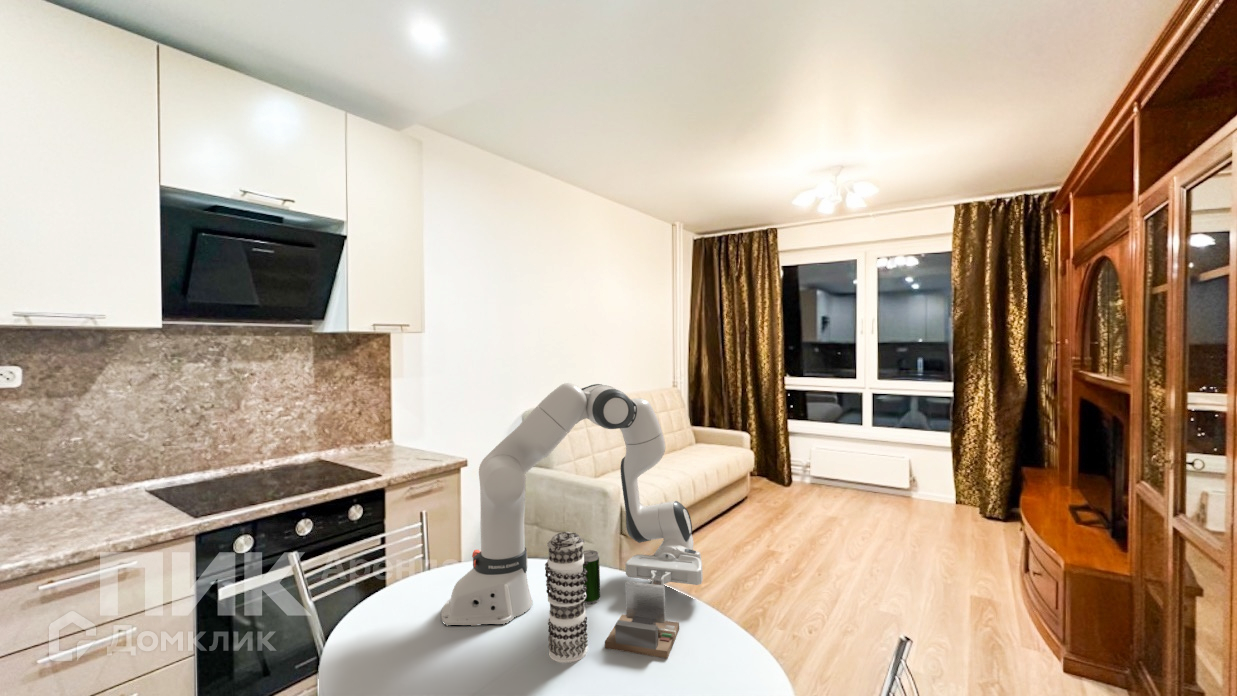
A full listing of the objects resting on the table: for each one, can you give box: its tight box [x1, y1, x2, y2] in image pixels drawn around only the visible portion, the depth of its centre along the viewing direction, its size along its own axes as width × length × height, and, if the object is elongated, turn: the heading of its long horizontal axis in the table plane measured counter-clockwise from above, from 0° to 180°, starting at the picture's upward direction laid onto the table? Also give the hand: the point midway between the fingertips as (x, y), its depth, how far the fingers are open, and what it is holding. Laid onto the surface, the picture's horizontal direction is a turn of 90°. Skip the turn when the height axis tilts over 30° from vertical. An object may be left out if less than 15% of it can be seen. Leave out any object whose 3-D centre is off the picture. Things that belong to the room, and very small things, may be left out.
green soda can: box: [583, 549, 601, 605], centre depth 135 cm, size 5×5×12 cm
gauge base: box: [604, 614, 680, 660], centre depth 116 cm, size 12×14×6 cm
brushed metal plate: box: [625, 580, 676, 635], centre depth 116 cm, size 5×12×9 cm, turn 71°
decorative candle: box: [544, 531, 589, 664], centre depth 112 cm, size 9×9×25 cm
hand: (657, 582), depth 128 cm, fingers closed
